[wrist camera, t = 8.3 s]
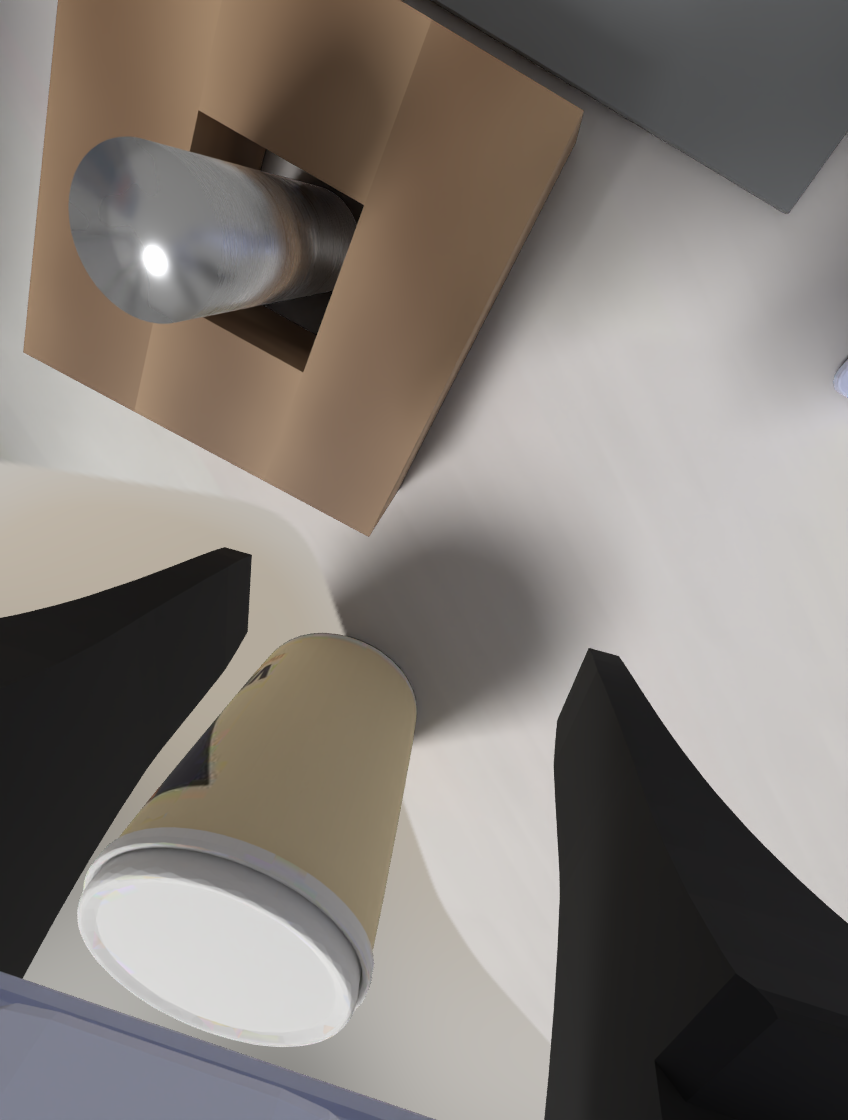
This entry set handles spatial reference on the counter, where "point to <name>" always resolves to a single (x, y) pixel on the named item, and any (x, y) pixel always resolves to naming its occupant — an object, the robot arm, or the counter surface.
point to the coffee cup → (265, 853)
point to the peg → (200, 232)
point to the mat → (699, 75)
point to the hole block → (338, 160)
